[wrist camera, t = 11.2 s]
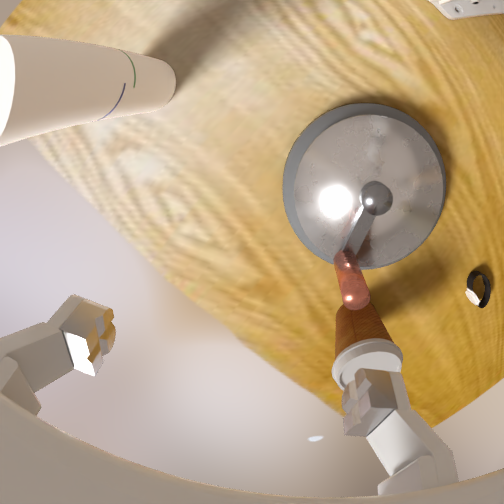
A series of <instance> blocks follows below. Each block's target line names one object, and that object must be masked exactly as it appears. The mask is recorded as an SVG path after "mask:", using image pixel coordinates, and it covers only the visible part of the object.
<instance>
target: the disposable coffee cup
mask: <svg viewBox="0 0 504 504" xmlns="http://www.w3.org/2000/svg"><path fill="white" fill-rule="evenodd" d="M402 361H403V355H402V352H401V350H400V348H399V347H398V346H396V345H395V344H394V342H393V341H392V339H391V337H390V335H389V333H388V332H387V330H386V328H385V326H384V324H383V322H382V321H381V319H380V317H379V315H378V313H377V312H376V310H375V308H374V306H373V305H372V304H371V303H370V302H369V303H368V304H367V305H366V306H365V307H364V308H362V309H359V310H350V309H348V308H346V307H345V305H342V306H341V307H340V308H339V310H338V311H337V314H336V343H335V362H334V364H333V367H332V376H333V379H334V380H335V381H336V382H337V384H338V386H339V387H340V388H341V389H342V390H344V389H345V387H346V386H347V384H348V383H349V382H351V381H353V380H355V376H354V374H355V373H356V372H357V370H358V369H360V368H366V369H375V370H384V371H393V372H400V371H401V366H402Z"/></svg>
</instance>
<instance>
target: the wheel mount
mask: <svg viewBox="0 0 504 504" xmlns="http://www.w3.org/2000/svg"><path fill="white" fill-rule="evenodd" d="M358 115H379V116H386V117H389V118H393V119H396V120H398V121H401V122H403V123H405V124H407V125H408V126H410V127H411V128H413V129H414V130H415V131H417V132H418V133H419V134H420V135H421V136H422V137H423V138H424V139H425V140H426V141H427V143H428V144H429V145H430V147H431V148H432V150H433V152H434V154H435V156H436V158H437V160H438V163H439V166H440V169H441V174H442V179H443V198H442V203H441V208H440V211H439V215H438V217H437V220H436V222H435V224H434V226H433V228H432V229H431V231H430V233H431V232H432V230H433V229H434V227H435V225H436V224H437V221H438V219H439V217H440V215H441V212H442V209H443V205H444V201H445V194H446V175H445V168H444V164H443V160H442V157H441V155H440V152H439V150H438V148H437V146H436V144H435V142H434V141H433V139H432V137H431V136H430V135H429V134H428V132H427V131H426V130H425V129H424V128H423V127H422V126H421V125H420V124H419V123H418V122H417V121H416V120H414V119H413V118H411V117H410V116H409V115H407V114H405V113H403V112H401V111H399V110H397V109H394V108H392V107H389V106H385V105H380V104H370V103H357V104H348V105H344V106H341V107H337V108H335V109H332V110H330V111H328V112H326V113H324V114H323V115H321V116H319V117H318V118H316V119H315V120H314V121H313V122H311V123H310V124H309V125H308V126H307V127H306V128H305V129H304V130H303V131H302V133H301V134H300V135H299V137H298V138H297V140H296V141H295V142H294V144H293V146H292V148H291V150H290V152H289V155H288V158H287V161H286V164H285V169H284V174H283V201H284V206H285V211H286V214H287V217H288V220H289V222H290V224H291V226H292V228H293V230H294V232H295V233H296V235H297V236H298V238H299V239H300V240H301V242H302V243H303V244H304V245H305V246H306V247H307V248H308V249H309V250H310V251H312V252H313V253H314V254H315V255H317V256H318V257H320V258H321V259H323V260H325V261H327V262H329V263H331V264H334V262H333V259H332V258H330V257H329V256H327V255H325V254H324V253H323V252H322V251H320V250H319V249H318V248H317V247H316V246H315V245H314V244H313V243H312V242H311V241H310V239H309V238H308V237H307V235H306V234H305V232H304V230H303V228H302V226H301V224H300V221H299V219H298V216H297V212H296V207H295V198H294V183H295V177H296V172H297V169H298V166H299V163H300V161H301V159H302V156H303V154H304V153H305V151H306V149H307V148H308V146H309V145H310V144H311V142H312V141H313V140H314V139H315V138H316V137H317V136H318V135H319V134H320V133H321V132H322V131H323V130H325V129H326V128H328V127H329V126H331V125H332V124H334V123H336V122H338V121H340V120H343V119H346V118H349V117H352V116H358ZM430 233H429V234H428V235H427V236H426V238H425V239H424V240H423V241H422V242H421V243H420V244H419V245H418V246H417V247H416V248H415V249H414V250H413V251H415V250H416V249H417V248H418V247H419V246H420V245H421V244H422V243H423V242H424V241H425V240H426V239H427V237H428V236H429V235H430ZM413 251H411V252H410V253H408V254H407V255H405V256H404V257H402V258H400V259H398V260H396V261H393V262H391V263H388V264H384V265H380V266H372V267H360V269H361V270H364V269H375V268H380V267H384V266H387V265H390V264H393V263H395V262H397V261H400V260H401V259H403V258H405V257H406V256H408V255H409V254H411V253H412V252H413Z"/></svg>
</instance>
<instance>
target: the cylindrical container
mask: <svg viewBox="0 0 504 504" xmlns="http://www.w3.org/2000/svg"><path fill="white" fill-rule="evenodd" d="M175 88H176V77H175V73H174V71H173V69H172V68H171V67H170V65H169V64H167V63H166V62H165V61H162V60H160V59H156V58H152V57H149V56H145V55H141V54H137V53H133V52H129V51H124V50H120V49H115V48H111V47H106V46H101V45H96V44H90V43H84V42H78V41H71V40H64V39H56V38H47V37H37V36H24V35H0V146H3V145H6V144H9V143H12V142H16V141H19V140H22V139H25V138H29V137H32V136H36V135H39V134H43V133H47V132H50V131H54V130H58V129H62V128H66V127H70V126H75V125H79V124H84V123H88V122H93V121H98V120H104V119H109V118H115V117H121V116H128V115H134V114H141V113H148V112H154V111H157V110H159V109H161V108H163V107H164V106H165V105H166V104H167V103H168V102H169V101H170V100H171V98H172V96H173V94H174V92H175Z"/></svg>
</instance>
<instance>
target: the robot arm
mask: <svg viewBox="0 0 504 504" xmlns="http://www.w3.org/2000/svg"><path fill="white" fill-rule="evenodd" d="M428 1H430V2H431V3H432V4H434V6H435V7H436V8H437V9H438V10H439V11H440V12H441V13H442V14H443V15H444V16H445V17H447V18H448V19H450V20H456V19H463V18H469V17H477V16H485V15H495V14H504V0H428ZM455 9H457V11H458V12H457V11H456V10H455ZM113 318H114V315H113V310H112V309H110V308H108V307H106V306H103V305H100V304H98V303H95V302H93V301H90V300H88V299H85V298H82V297H80V296H77V295H75V294H74V295H71V296H70V297H69V298H68V299H67V300H66V301H65V302H64V303H63V305H62V306H61V307H60V308H59V309H58V310H57V312H56V313H55V314H54V315H53V316H52V317H51V318H50V320H49V321H48V322H47V323H44V322H42V323H39V324H36V325H34V326H31V327H29V328H26V329H23V330H21V331H18V332H15V333H13V334H10V335H7V336H5V337H2V338H0V504H504V468H503V469H500V470H497V471H495V472H492V473H488V474H485V475H482V476H479V477H476V478H472V479H468V480H465V481H461V482H459V480H458V475H457V470H456V465H455V461H454V457H453V453H452V451H451V450H450V448H448V446H447V445H446V444H445V443H444V442H443V441H442V440H441V439H440V438H439V436H438V435H437V434H436V433H435V432H434V431H433V430H432V429H431V427H430V426H429V425H428V424H427V423H426V422H425V421H424V420H423V419H422V418H421V416H420V415H419V414H418V413H417V412H416V411H415V410H411V407H410V403H409V399H408V395H407V391H406V388H405V384H404V381H403V377H402V374H401V373H400V372H393V371H384V370H375V369H366V368H360V369H358V370H357V372H356V373H355V374H354V376H355V380H353V381H351V382H349V383H348V384H347V386H346V387H345V389H344V392H343V395H342V408H343V410H344V411H345V412H346V413H347V414H346V416H345V417H344V418H343V423H344V435H350V436H363V437H366V438H367V440H368V442H369V443H370V445H371V447H372V448H373V450H374V451H375V453H376V454H377V456H378V458H379V459H380V461H381V462H382V464H383V466H384V467H385V469H386V470H387V472H388V474H389V475H390V477H389V478H387V479H386V480H384V481H382V482H381V483H380V484H379V485H378V496H366V497H340V498H320V497H296V496H282V495H273V494H264V493H256V492H249V491H242V490H236V489H230V488H224V487H220V486H215V485H210V484H206V483H201V482H197V481H193V480H189V479H185V478H181V477H178V476H174V475H171V474H167V473H164V472H161V471H157V470H154V469H151V468H148V467H145V466H142V465H140V464H137V463H134V462H131V461H128V460H126V459H123V458H120V457H118V456H116V455H113V454H111V453H108V452H106V451H104V450H101V449H99V448H97V447H94V446H92V445H90V444H88V443H86V442H84V441H82V440H80V439H77V438H76V437H74V436H72V435H70V434H68V433H66V432H64V431H62V430H60V429H58V428H56V427H55V426H53V425H51V424H49V423H47V422H46V421H44V420H42V419H41V418H39V417H37V414H38V412H39V411H40V409H41V404H40V402H39V400H38V399H37V397H36V395H35V394H34V393H35V392H36V391H38V390H40V389H41V388H43V387H45V386H46V385H48V384H50V383H52V382H53V381H55V380H57V379H58V378H60V377H62V376H63V375H65V374H66V373H68V372H70V371H72V370H73V369H74V368H76V369H78V370H81V371H83V372H86V373H88V374H90V375H93V376H96V374H97V372H98V370H99V369H100V367H101V366H102V364H103V357H102V356H103V355H105V354H107V353H109V352H110V350H111V349H112V347H113V344H114V341H115V335H116V332H115V326H114V325H113V324H112V322H111V321H112V319H113Z"/></svg>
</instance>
